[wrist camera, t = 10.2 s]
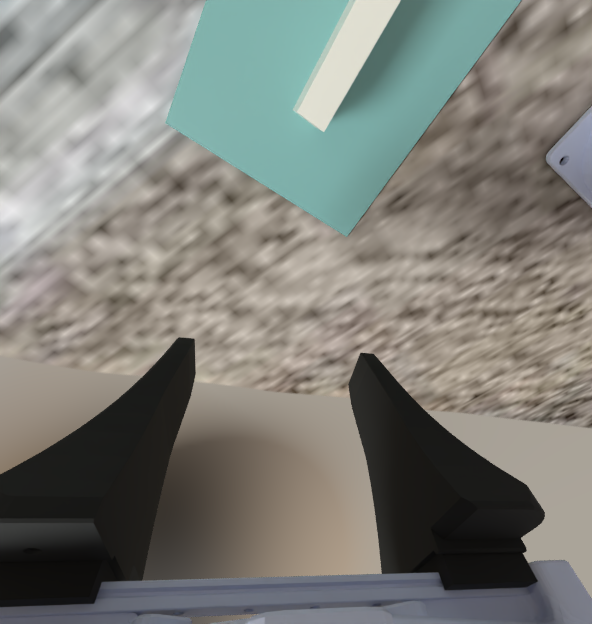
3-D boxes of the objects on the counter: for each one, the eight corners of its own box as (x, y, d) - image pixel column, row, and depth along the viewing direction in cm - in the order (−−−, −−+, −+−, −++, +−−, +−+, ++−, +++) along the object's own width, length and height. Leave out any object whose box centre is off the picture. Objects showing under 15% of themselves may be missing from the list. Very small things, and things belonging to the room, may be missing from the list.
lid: (525, -17, 14) (610, -56, 11) (344, 232, 20) (359, 259, 17) (314, -307, 10) (338, -534, 6) (169, 122, 16) (141, 128, 13)
